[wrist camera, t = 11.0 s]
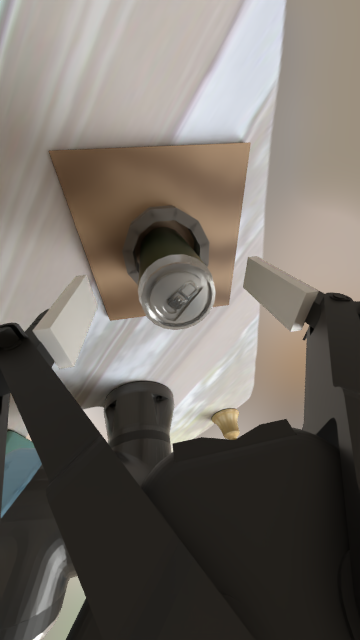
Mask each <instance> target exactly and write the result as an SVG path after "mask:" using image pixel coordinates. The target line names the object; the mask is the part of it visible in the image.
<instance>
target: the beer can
mask: <svg viewBox="0 0 360 640" xmlns="http://www.w3.org/2000/svg"><path fill="white" fill-rule="evenodd" d="M138 295H139V302H140V303H141V305H142V308H143V310H144V312H145V314H146V316H147V317H148V318H149V319H150V320H151V321H152V322H153V323H154V324H156V325H158V326H160V327H162V328H166V329H172V330H178V329H185V328H188V327H191V326H194V325H196V324H197V323H199V322H200V321H202V320H203V319H204V318H205V317H206V316H207V315H208V314H209V312H210V311H211V309H212V307H213V305H214V301H215V295H216V292H215V287H214V282H213V277H212V274H211V272H210V271H209V269H208V268H207V266H206V265H205V264H204V262H203V261H202V260H201V259H200V258H199V256H198V255H197V254H196V253H195V252H194V250H193V249H192V248H191V247H190V245H189V244H188V243H187V242H186V241H185V239H184V238H183V237H182V236H181V235H180V234H179V233H178V232H177V231H175V230H174V229H171V228H168V227H159V228H156V229H153V230H151V231H150V232H149V233H148V234H147V235H146V236H145V238H144V239H143V241H142V244H141V249H140V264H139V280H138Z"/></svg>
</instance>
